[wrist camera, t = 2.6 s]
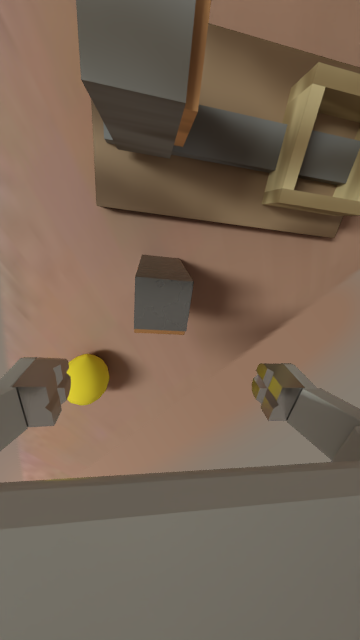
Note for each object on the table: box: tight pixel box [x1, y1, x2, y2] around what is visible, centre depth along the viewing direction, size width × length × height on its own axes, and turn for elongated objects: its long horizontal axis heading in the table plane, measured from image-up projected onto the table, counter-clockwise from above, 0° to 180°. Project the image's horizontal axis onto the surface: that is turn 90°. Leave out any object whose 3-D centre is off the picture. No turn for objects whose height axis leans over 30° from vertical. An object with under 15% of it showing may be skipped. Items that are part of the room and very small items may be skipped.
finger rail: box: [76, 0, 360, 238], centre depth 14 cm, size 12×24×12 cm, turn 83°
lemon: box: [66, 354, 109, 405], centre depth 25 cm, size 7×5×5 cm
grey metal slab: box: [134, 255, 194, 335], centre depth 19 cm, size 5×4×9 cm
